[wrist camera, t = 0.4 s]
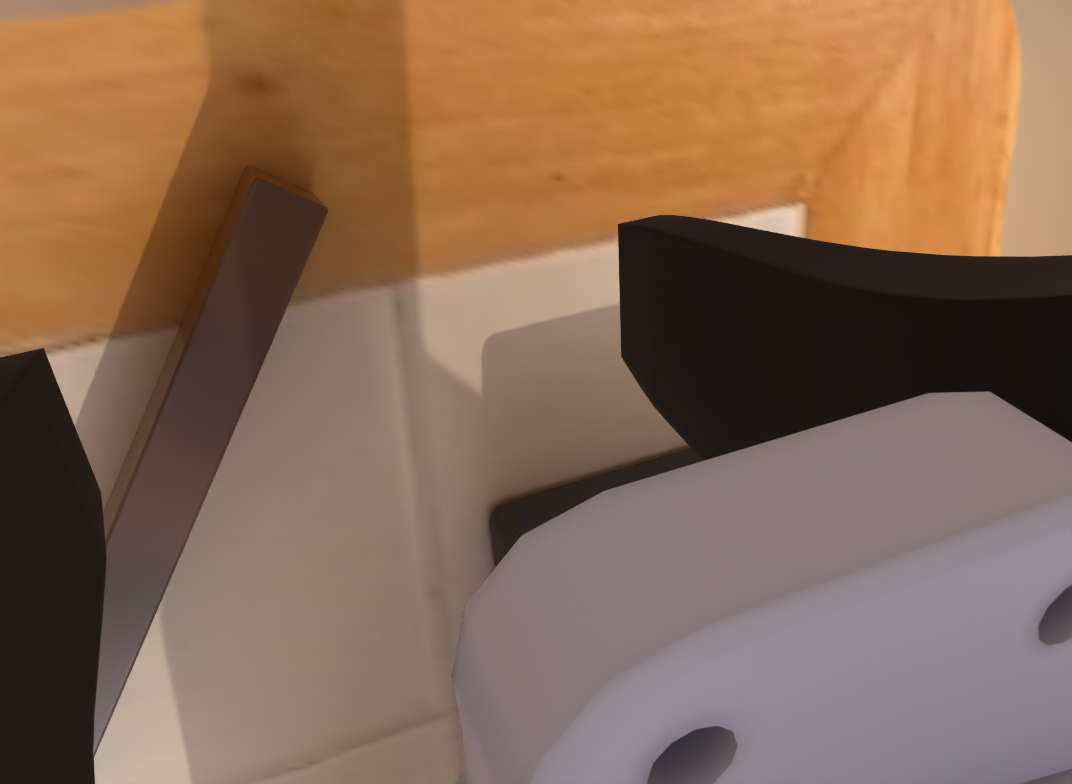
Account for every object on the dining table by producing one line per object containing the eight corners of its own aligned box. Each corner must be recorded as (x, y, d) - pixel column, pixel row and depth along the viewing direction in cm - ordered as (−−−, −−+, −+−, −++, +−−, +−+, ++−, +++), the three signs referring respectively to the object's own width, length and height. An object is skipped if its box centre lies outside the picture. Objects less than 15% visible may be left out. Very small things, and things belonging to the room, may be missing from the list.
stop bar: (14, 902, 24) (4, 969, 22) (-55, 898, 23) (-72, 967, 22) (316, 193, 21) (330, 209, 19) (245, 162, 20) (254, 176, 18)
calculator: (588, 991, 28) (545, 598, 21) (536, 873, 32) (485, 507, 25) (886, 852, 31) (929, 472, 24) (807, 759, 35) (826, 406, 28)
